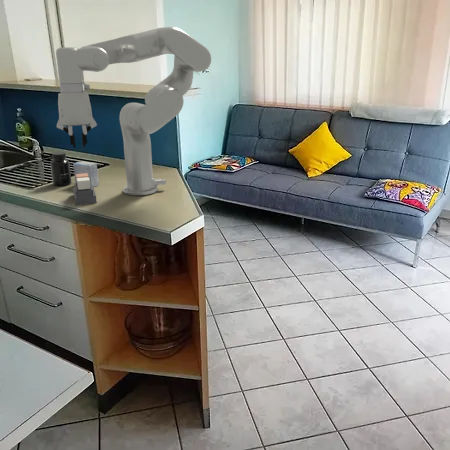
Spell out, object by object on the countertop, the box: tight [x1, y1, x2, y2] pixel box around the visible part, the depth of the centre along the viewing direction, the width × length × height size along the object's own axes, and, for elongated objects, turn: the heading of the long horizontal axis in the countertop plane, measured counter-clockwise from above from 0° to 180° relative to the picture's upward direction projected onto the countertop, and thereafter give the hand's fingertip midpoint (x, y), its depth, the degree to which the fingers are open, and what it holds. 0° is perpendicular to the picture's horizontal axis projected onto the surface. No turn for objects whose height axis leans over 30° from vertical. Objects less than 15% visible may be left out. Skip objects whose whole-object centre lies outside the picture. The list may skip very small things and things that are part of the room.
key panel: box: [72, 182, 98, 206], centre depth 165 cm, size 7×12×4 cm, turn 19°
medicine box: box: [73, 161, 100, 188], centre depth 180 cm, size 8×4×9 cm, turn 66°
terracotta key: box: [76, 173, 88, 180], centre depth 166 cm, size 4×4×3 cm
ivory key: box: [77, 177, 90, 190], centre depth 161 cm, size 4×4×3 cm
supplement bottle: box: [50, 151, 72, 187], centre depth 181 cm, size 7×7×12 cm
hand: (79, 146), depth 156 cm, fingers closed
